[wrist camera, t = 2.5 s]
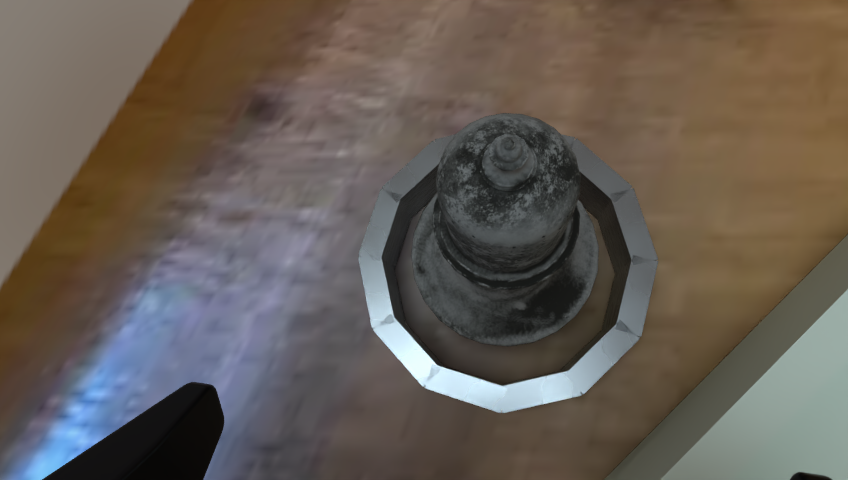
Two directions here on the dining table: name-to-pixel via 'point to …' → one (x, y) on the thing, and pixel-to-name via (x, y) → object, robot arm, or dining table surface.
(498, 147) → the dark grey chess piece
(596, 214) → the faceted metal ring
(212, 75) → the dining table surface
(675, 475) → the bin
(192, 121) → the dining table surface
